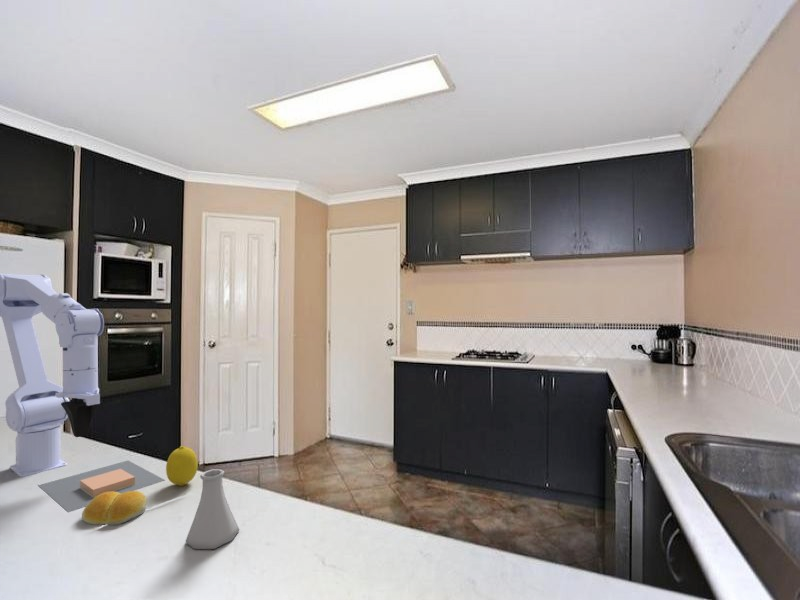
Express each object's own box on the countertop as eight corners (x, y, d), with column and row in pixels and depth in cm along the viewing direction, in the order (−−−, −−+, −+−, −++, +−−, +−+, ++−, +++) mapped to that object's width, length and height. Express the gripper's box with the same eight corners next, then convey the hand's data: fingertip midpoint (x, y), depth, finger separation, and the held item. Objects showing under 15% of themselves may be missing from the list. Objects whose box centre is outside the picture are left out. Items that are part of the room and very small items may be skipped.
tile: (80, 480, 82) (93, 489, 78) (120, 468, 88) (134, 476, 84) (80, 488, 82) (93, 497, 78) (120, 475, 88) (135, 484, 84)
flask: (247, 529, 68) (247, 467, 68) (214, 555, 61) (213, 485, 61) (211, 522, 70) (211, 461, 70) (175, 546, 63) (175, 479, 63)
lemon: (203, 481, 86) (203, 441, 86) (187, 493, 81) (186, 451, 81) (177, 480, 87) (177, 441, 87) (159, 492, 81) (159, 450, 81)
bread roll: (134, 525, 70) (134, 501, 70) (74, 530, 68) (74, 505, 68) (155, 501, 78) (155, 480, 78) (101, 505, 77) (101, 483, 77)
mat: (38, 487, 84) (37, 485, 84) (128, 462, 97) (128, 460, 97) (68, 514, 73) (68, 512, 73) (165, 482, 86) (165, 480, 86)
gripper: (44, 368, 87) (45, 434, 87) (68, 375, 79) (68, 448, 79) (85, 363, 93) (86, 425, 93) (111, 369, 84) (112, 438, 84)
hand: (81, 435), depth 86 cm, fingers closed
